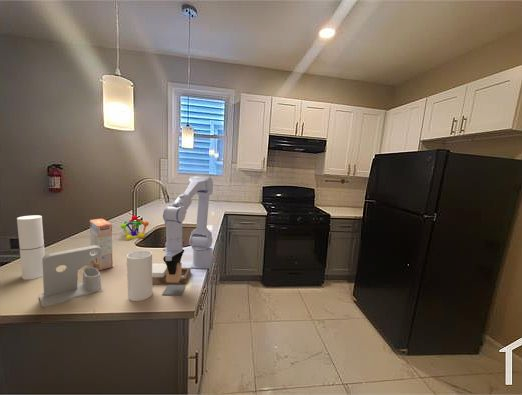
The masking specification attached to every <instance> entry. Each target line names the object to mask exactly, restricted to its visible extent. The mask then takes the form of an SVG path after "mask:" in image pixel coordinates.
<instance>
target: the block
mask: <svg viewBox="0 0 522 395" xmlns="http://www.w3.org/2000/svg"><path fill="white" fill-rule="evenodd" d="M182 264H183V262H180V263H177V268H176V273H175V275H169V272H168V268H167V267H166V282H179V280H180V279H181V277H182V274H181V273H182V268H183V267H182Z"/></svg>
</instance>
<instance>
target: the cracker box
mask: <svg viewBox="0 0 522 395" xmlns="http://www.w3.org/2000/svg"><path fill="white" fill-rule="evenodd" d="M89 235H90V237H89V238H90V246H93V245H98V246H99V247H100V248H101V255H100V256H99V257H97V258H96V259H94V260H93V261H91V263H92V264H93V265H94V266H95V268H97V270H98V271H102V270H106V269H111V268H113V266H114V265H113V227H112V223H110V222H109V221H107V220H106V219H104V218H97V219H96V218H95V219H90V220H89ZM97 252H98V250H97V249H95V250H92V251H91V252H90V254H95V253H97Z"/></svg>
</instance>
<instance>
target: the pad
mask: <svg viewBox="0 0 522 395" xmlns="http://www.w3.org/2000/svg"><path fill="white" fill-rule="evenodd" d="M185 287H186V284H167V285H166V286H165V289H164V291H163V292H162V294H161V295H162V296H181V295H182V294H183V292H184V289H185Z"/></svg>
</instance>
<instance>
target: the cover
mask: <svg viewBox="0 0 522 395" xmlns="http://www.w3.org/2000/svg"><path fill="white" fill-rule="evenodd" d="M166 267H167V265H166V263H162V262H161V263H154V262H152V277H164V276H165V274H166Z"/></svg>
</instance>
